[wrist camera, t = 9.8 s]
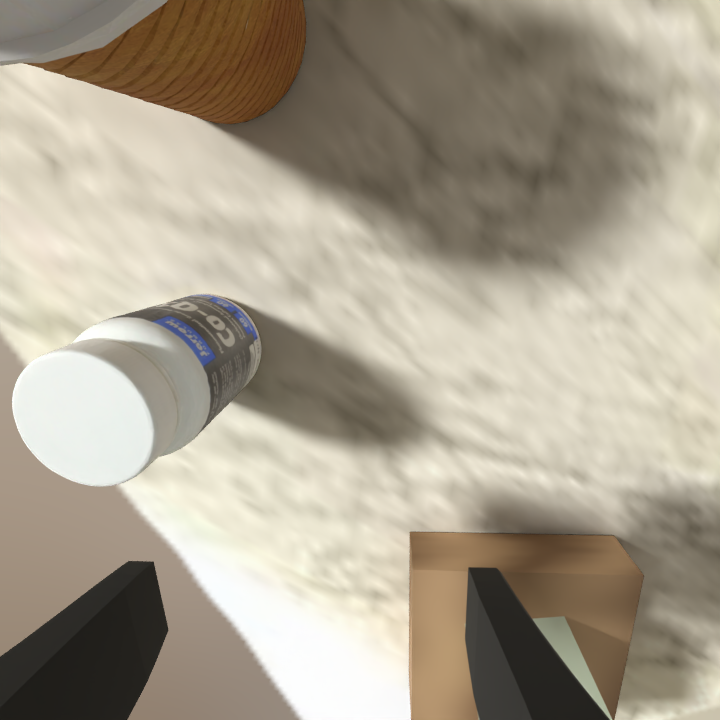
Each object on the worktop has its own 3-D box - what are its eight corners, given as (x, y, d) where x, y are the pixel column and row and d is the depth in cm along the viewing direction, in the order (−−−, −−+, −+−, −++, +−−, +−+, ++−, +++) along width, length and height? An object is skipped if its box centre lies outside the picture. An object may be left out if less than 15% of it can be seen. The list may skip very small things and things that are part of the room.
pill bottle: (273, 309, 18) (183, 366, 10) (252, 404, 20) (159, 520, 12) (168, 279, 18) (-5, 313, 10) (155, 376, 20) (-7, 474, 12)
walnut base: (614, 535, 20) (643, 575, 18) (588, 684, 23) (611, 736, 21) (410, 531, 21) (412, 569, 19) (409, 676, 24) (411, 725, 22)
